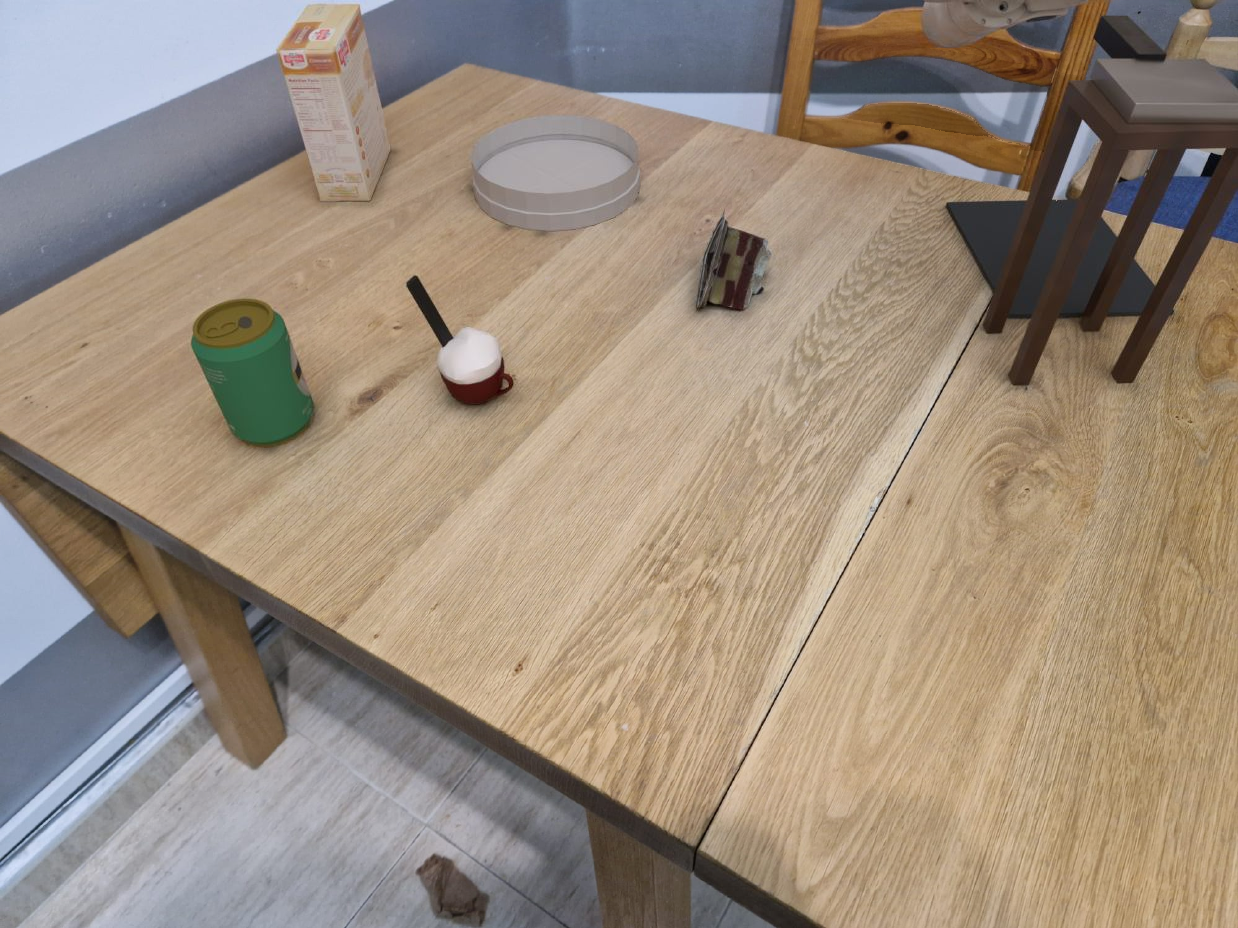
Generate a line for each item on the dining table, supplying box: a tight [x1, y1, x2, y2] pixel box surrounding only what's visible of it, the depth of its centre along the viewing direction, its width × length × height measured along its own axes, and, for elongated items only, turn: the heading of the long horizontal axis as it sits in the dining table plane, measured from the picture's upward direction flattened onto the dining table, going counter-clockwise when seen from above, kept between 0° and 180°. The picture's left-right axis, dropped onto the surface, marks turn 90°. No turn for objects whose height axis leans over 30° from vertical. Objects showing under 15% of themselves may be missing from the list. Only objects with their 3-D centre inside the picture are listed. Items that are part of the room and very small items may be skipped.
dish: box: [470, 114, 641, 232], centre depth 113 cm, size 22×22×5 cm
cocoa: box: [405, 274, 515, 405], centre depth 82 cm, size 10×6×12 cm, turn 40°
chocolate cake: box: [694, 209, 773, 311], centre depth 98 cm, size 10×7×12 cm
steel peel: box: [1089, 15, 1238, 124], centre depth 74 cm, size 9×18×2 cm, turn 178°
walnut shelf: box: [982, 79, 1238, 386], centre depth 80 cm, size 12×10×26 cm
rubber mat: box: [945, 198, 1175, 319], centre depth 102 cm, size 18×24×1 cm
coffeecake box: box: [275, 3, 392, 202], centre depth 112 cm, size 15×7×20 cm, turn 0°
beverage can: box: [190, 298, 315, 448], centre depth 80 cm, size 8×8×12 cm
